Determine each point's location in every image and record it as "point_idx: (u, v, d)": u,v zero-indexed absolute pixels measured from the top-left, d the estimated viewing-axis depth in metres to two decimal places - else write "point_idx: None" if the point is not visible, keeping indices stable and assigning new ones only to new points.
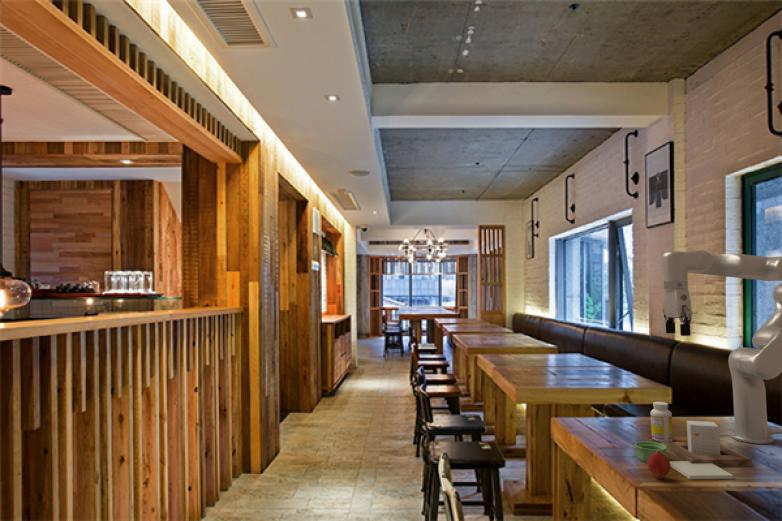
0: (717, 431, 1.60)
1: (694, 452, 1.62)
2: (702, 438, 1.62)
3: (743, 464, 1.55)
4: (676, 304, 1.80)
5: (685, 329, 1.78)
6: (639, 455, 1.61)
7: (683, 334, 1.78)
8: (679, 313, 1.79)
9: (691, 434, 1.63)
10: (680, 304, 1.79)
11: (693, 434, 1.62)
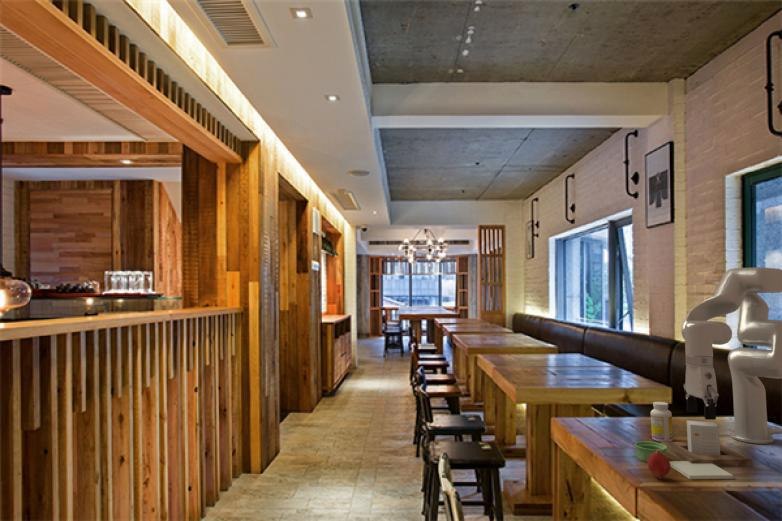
0: (717, 431, 1.60)
1: (694, 452, 1.62)
2: (702, 438, 1.62)
3: (743, 464, 1.55)
4: (700, 383, 1.61)
5: (710, 412, 1.58)
6: (639, 455, 1.61)
7: (707, 418, 1.59)
8: (703, 393, 1.60)
9: (691, 434, 1.63)
10: (704, 383, 1.60)
11: (693, 434, 1.62)
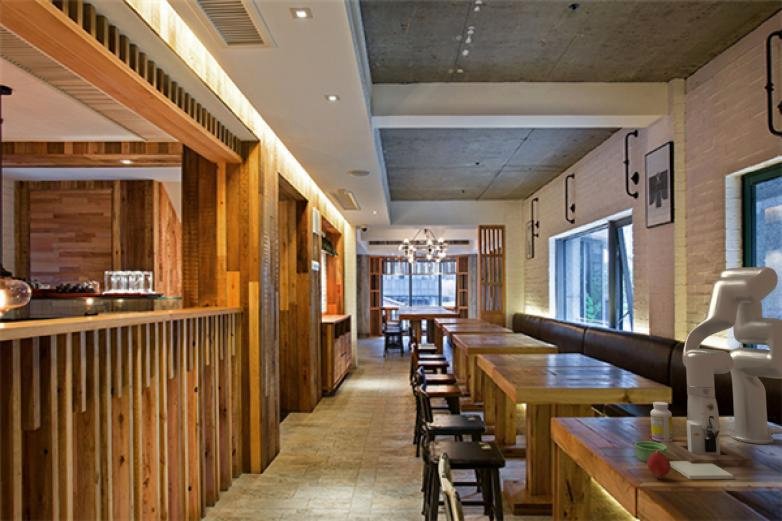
0: None
1: (694, 452, 1.62)
2: (702, 437, 1.62)
3: (743, 464, 1.55)
4: (702, 414, 1.60)
5: (710, 445, 1.59)
6: (639, 455, 1.61)
7: (708, 450, 1.60)
8: (705, 425, 1.59)
9: (691, 434, 1.63)
10: (706, 415, 1.59)
11: (693, 434, 1.62)
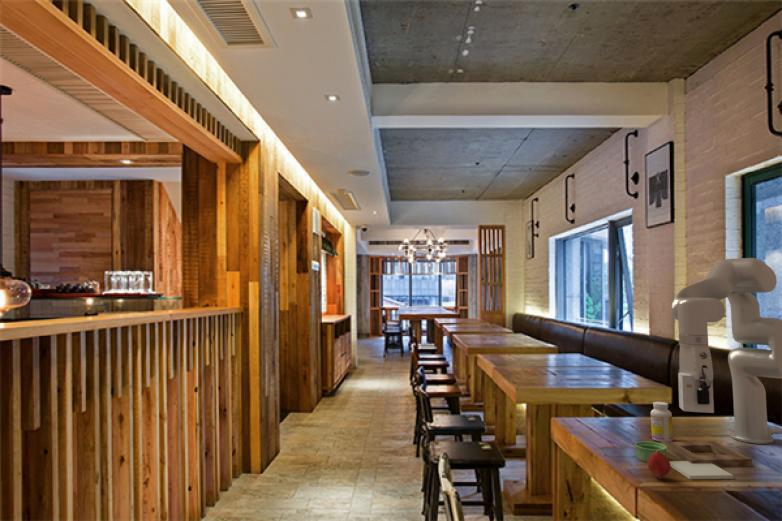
0: None
1: (686, 404, 1.51)
2: (695, 389, 1.51)
3: (743, 464, 1.55)
4: (694, 364, 1.50)
5: (703, 397, 1.48)
6: (639, 455, 1.61)
7: (701, 402, 1.49)
8: (698, 375, 1.48)
9: (683, 385, 1.52)
10: (699, 364, 1.49)
11: (685, 385, 1.51)
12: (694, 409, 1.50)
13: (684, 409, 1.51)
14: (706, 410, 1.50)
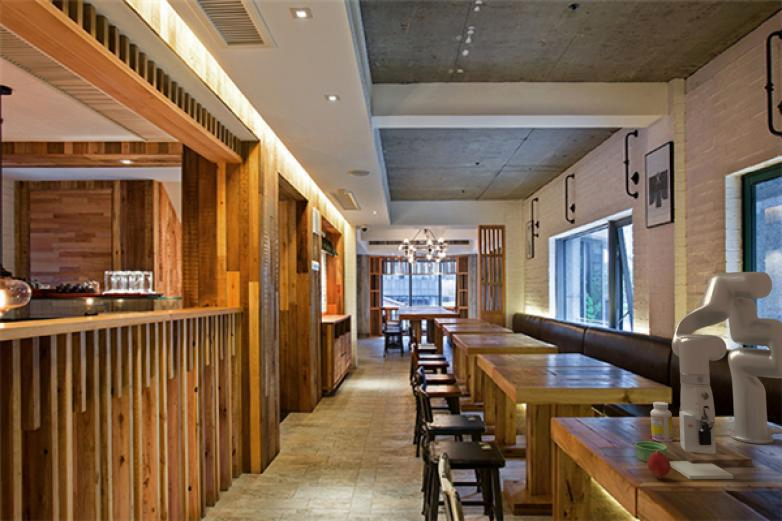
0: None
1: (687, 445, 1.49)
2: (696, 429, 1.49)
3: (743, 464, 1.55)
4: (696, 404, 1.48)
5: (705, 437, 1.47)
6: (639, 455, 1.61)
7: (702, 443, 1.47)
8: (699, 415, 1.47)
9: (684, 425, 1.50)
10: (701, 404, 1.47)
11: (686, 425, 1.50)
12: (695, 450, 1.49)
13: (685, 449, 1.50)
14: (707, 451, 1.48)
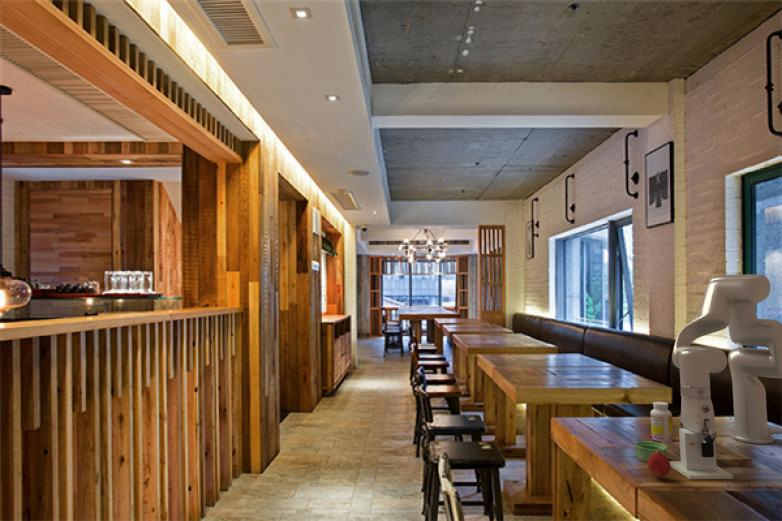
0: None
1: (689, 463, 1.49)
2: (698, 447, 1.49)
3: (743, 464, 1.55)
4: (696, 417, 1.48)
5: (707, 449, 1.46)
6: (640, 455, 1.61)
7: (705, 455, 1.46)
8: (700, 429, 1.47)
9: (686, 443, 1.50)
10: (701, 418, 1.47)
11: (688, 444, 1.50)
12: (697, 468, 1.49)
13: (687, 467, 1.49)
14: (709, 468, 1.48)
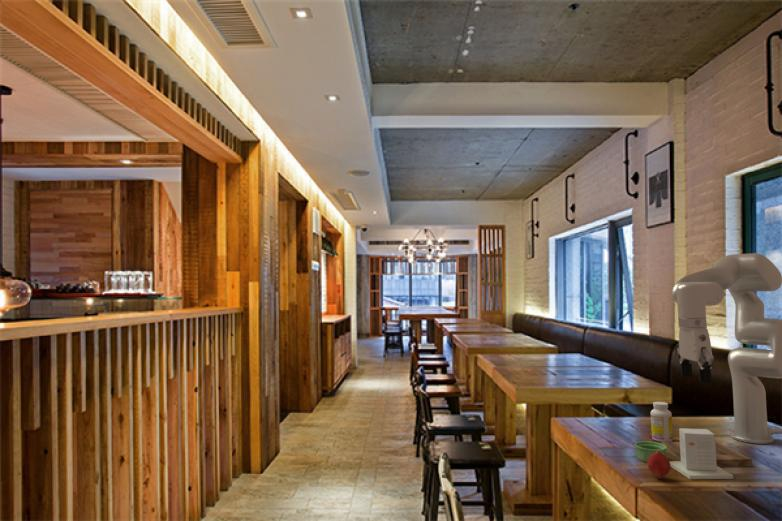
0: (713, 440, 1.48)
1: (689, 463, 1.49)
2: (698, 447, 1.49)
3: (743, 464, 1.55)
4: (694, 346, 1.55)
5: (705, 375, 1.53)
6: (639, 455, 1.61)
7: (703, 381, 1.54)
8: (698, 356, 1.54)
9: (686, 443, 1.50)
10: (699, 346, 1.54)
11: (688, 444, 1.50)
12: (697, 468, 1.49)
13: (687, 467, 1.49)
14: (709, 468, 1.48)
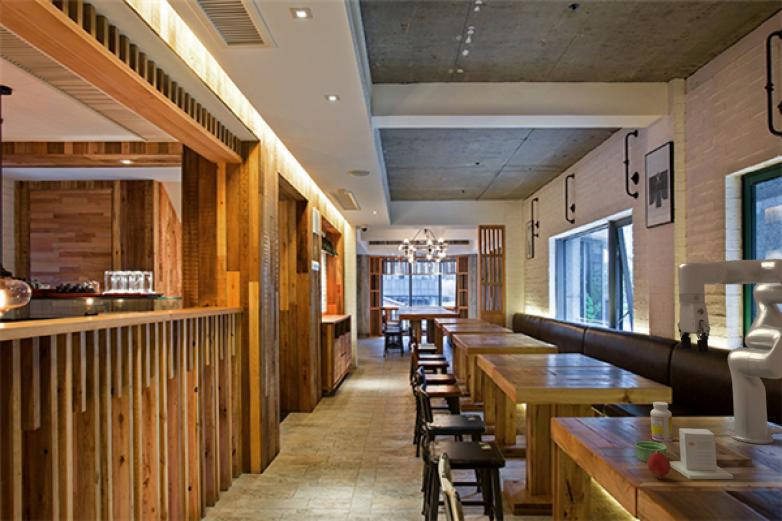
0: (713, 440, 1.48)
1: (689, 463, 1.49)
2: (698, 447, 1.49)
3: (743, 464, 1.55)
4: (693, 319, 1.70)
5: (702, 345, 1.68)
6: (640, 455, 1.61)
7: (700, 351, 1.68)
8: (696, 328, 1.69)
9: (686, 443, 1.50)
10: (697, 319, 1.69)
11: (688, 444, 1.50)
12: (697, 468, 1.49)
13: (687, 467, 1.49)
14: (709, 468, 1.48)
